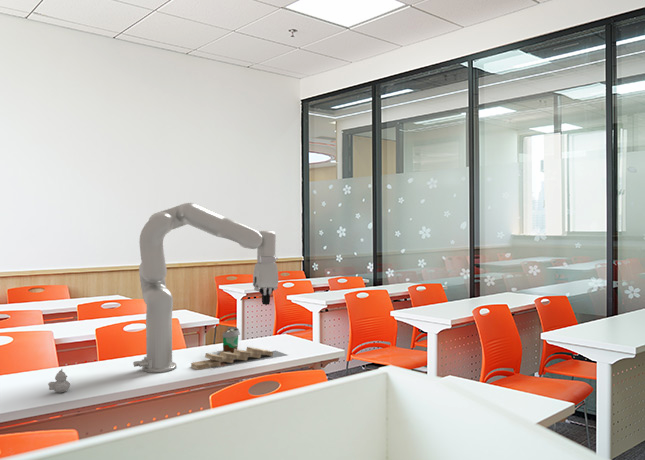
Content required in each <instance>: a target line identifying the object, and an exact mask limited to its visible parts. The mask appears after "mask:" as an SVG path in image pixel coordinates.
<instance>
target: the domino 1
mask: <svg viewBox="0 0 645 460" xmlns="http://www.w3.org/2000/svg"><path fill="white" fill-rule="evenodd" d="M220 365H221V361H216V360H210V359H205V360H199V361H195V362H190V367H191V368H193V369H195V370H203V369H209V368H212V367H214V366H220Z"/></svg>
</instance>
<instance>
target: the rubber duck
mask: <svg viewBox="0 0 645 460" xmlns="http://www.w3.org/2000/svg"><path fill="white" fill-rule="evenodd" d="M67 377H68V375H66V373H65V372H64V371H63V368H61V369H60V370H59V371H58V372H57V373H56V375H55V377H54V380H55V381H50V382H48V383H47V384H48V387H49V388H48V390H49V391H54V392H55V393H59V394H62V393H64V392H67V391H68V390H69V389H70V386H71V383H70V381H69V380H67Z"/></svg>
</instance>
